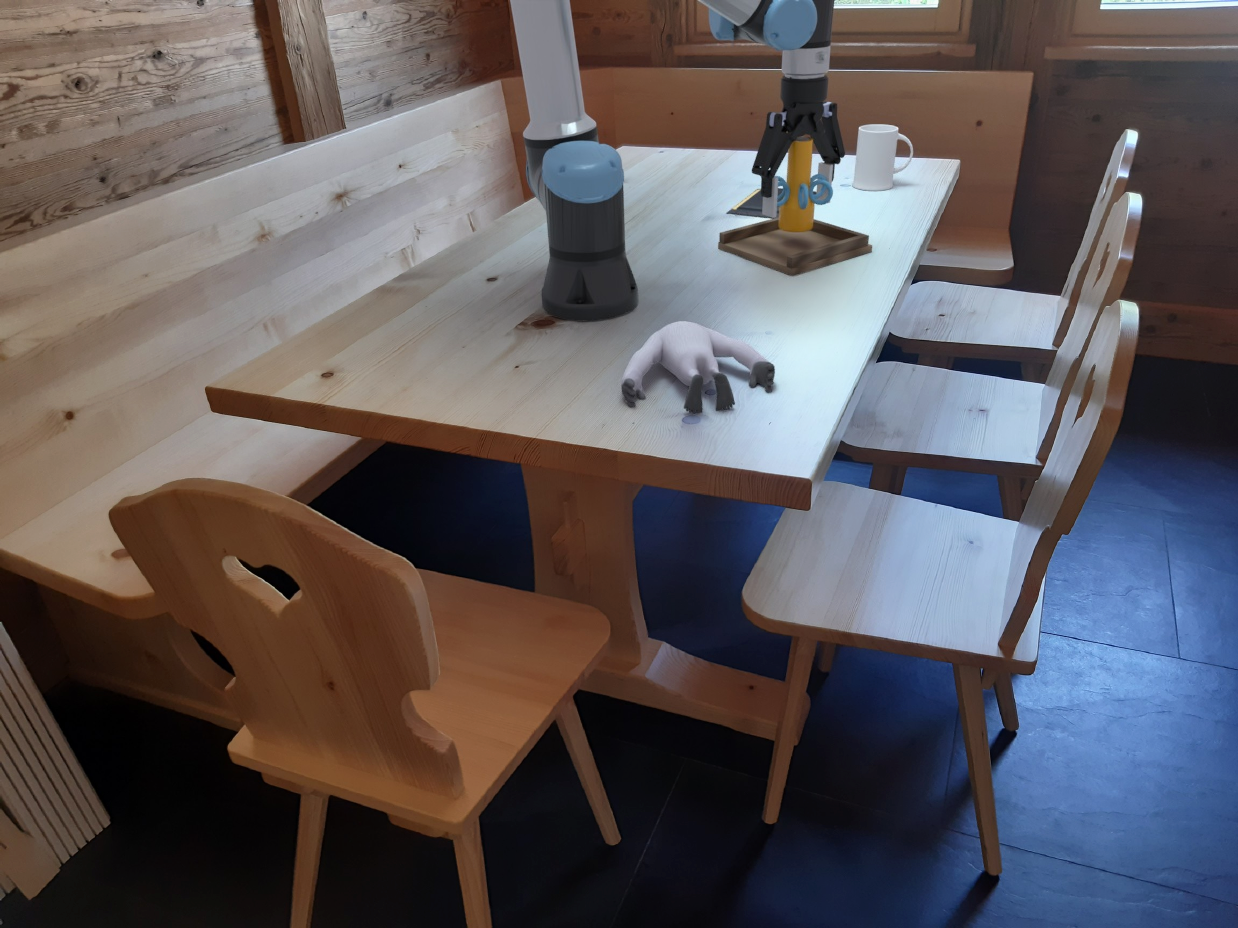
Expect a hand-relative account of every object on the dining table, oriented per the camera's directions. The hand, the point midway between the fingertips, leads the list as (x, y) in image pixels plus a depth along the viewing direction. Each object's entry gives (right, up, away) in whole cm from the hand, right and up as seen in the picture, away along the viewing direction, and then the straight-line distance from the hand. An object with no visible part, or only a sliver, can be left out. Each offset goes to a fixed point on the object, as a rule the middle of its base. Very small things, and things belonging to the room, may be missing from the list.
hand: (796, 208), depth 158 cm
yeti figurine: (-21, -34, -38) cm, 55 cm away
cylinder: (0, -3, +2) cm, 4 cm away
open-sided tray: (0, -6, +4) cm, 7 cm away
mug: (+25, +15, +38) cm, 49 cm away
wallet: (+1, +8, +30) cm, 31 cm away
